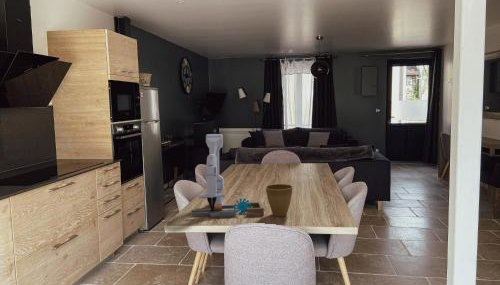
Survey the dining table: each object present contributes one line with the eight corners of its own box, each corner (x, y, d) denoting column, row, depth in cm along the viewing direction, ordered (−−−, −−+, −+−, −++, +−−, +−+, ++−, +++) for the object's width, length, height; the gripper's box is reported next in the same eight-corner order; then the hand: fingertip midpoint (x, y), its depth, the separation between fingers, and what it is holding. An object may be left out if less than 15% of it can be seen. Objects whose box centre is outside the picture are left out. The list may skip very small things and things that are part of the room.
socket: (192, 211, 219) (192, 206, 219) (235, 209, 221) (235, 204, 221) (190, 218, 205) (190, 213, 205) (236, 216, 207) (236, 211, 207)
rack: (244, 209, 222) (244, 202, 221) (260, 208, 223) (260, 201, 222) (246, 216, 208) (246, 209, 208) (263, 215, 209) (263, 208, 208)
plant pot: (290, 210, 217) (290, 183, 216) (294, 218, 202) (294, 189, 201) (265, 211, 217) (264, 184, 215) (267, 219, 202) (266, 189, 200)
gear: (231, 211, 212) (236, 196, 218) (232, 216, 217) (238, 201, 223) (249, 215, 209) (254, 199, 215) (251, 220, 214) (255, 204, 220)
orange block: (214, 212, 215) (214, 203, 215) (234, 211, 216) (233, 203, 216) (214, 214, 211) (214, 205, 211) (234, 213, 212) (234, 204, 212)
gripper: (198, 188, 207) (199, 213, 208) (224, 187, 208) (225, 211, 210) (198, 186, 214) (199, 209, 215) (224, 185, 215) (224, 208, 217)
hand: (212, 210), depth 213 cm, fingers closed
